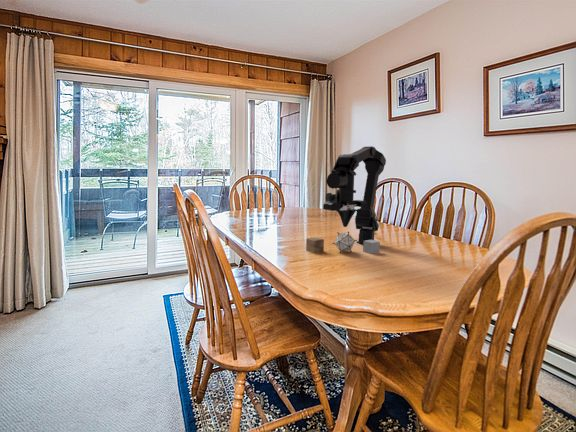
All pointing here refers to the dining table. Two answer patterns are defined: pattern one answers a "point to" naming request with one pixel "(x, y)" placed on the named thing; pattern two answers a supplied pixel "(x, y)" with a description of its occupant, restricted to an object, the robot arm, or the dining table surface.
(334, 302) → the dining table surface
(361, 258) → the dining table surface
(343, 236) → the game die
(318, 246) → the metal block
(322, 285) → the dining table surface
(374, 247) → the slate block
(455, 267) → the dining table surface
